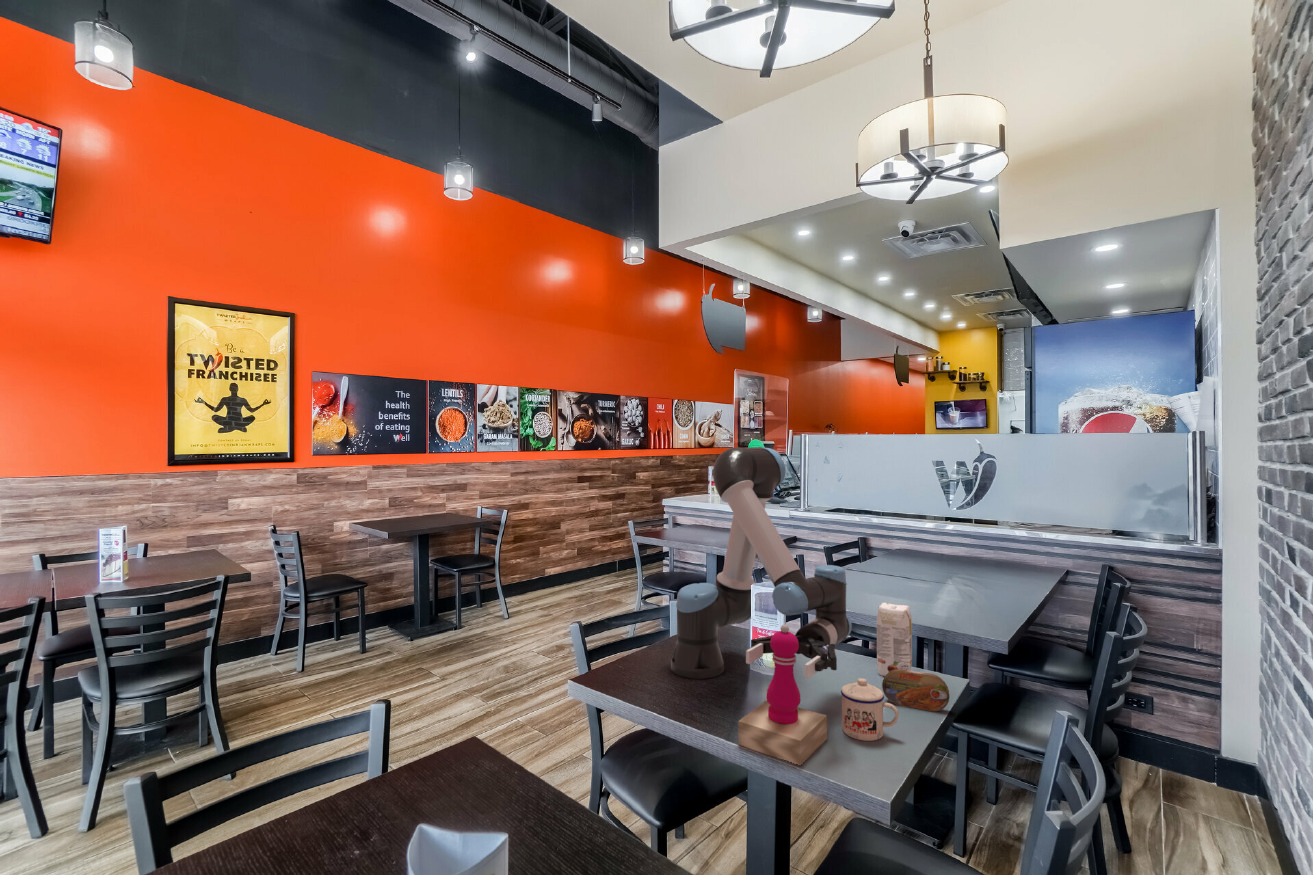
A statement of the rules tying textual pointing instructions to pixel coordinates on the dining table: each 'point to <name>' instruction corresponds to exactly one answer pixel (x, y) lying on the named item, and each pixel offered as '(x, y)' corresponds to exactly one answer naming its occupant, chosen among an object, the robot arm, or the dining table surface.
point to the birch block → (783, 734)
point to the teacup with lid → (864, 711)
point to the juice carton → (894, 638)
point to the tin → (916, 690)
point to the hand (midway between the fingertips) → (775, 664)
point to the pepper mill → (783, 678)
